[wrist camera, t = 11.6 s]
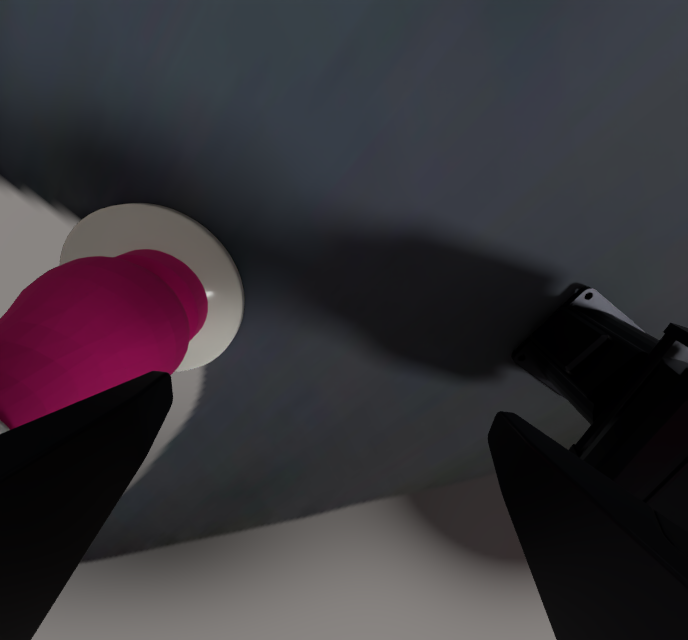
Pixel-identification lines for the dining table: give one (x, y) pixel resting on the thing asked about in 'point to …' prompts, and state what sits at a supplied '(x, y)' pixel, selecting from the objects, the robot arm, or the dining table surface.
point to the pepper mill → (95, 330)
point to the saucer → (184, 244)
